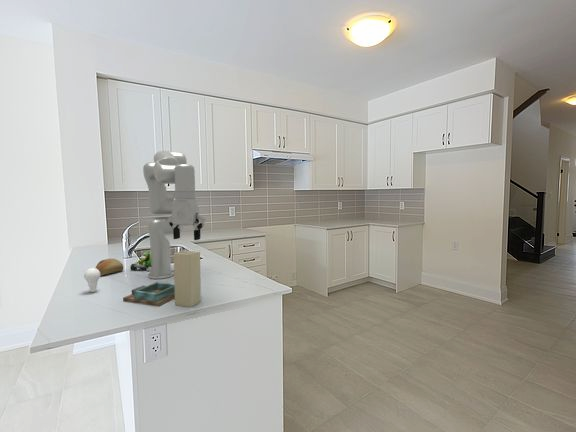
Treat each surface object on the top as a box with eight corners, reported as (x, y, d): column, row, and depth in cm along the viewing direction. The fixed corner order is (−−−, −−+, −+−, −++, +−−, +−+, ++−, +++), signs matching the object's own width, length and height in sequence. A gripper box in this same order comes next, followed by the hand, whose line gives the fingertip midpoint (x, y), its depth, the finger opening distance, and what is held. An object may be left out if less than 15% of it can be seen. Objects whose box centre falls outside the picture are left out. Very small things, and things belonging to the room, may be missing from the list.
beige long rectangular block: (202, 300, 120) (201, 250, 119) (191, 307, 114) (189, 254, 112) (186, 298, 123) (185, 249, 121) (174, 304, 116) (172, 253, 114)
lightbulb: (84, 295, 127) (82, 270, 126) (86, 291, 132) (84, 267, 131) (100, 293, 130) (99, 269, 129) (102, 289, 135) (100, 265, 134)
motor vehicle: (130, 271, 165) (129, 253, 164) (150, 263, 184) (149, 246, 183) (149, 272, 164) (148, 253, 163) (167, 263, 183) (166, 247, 182)
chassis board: (123, 301, 120) (122, 290, 120) (149, 290, 133) (148, 280, 133) (158, 306, 114) (157, 295, 114) (181, 294, 128) (181, 284, 127)
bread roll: (90, 276, 156) (89, 261, 155) (116, 269, 169) (115, 255, 169) (101, 278, 152) (100, 263, 151) (127, 271, 166) (126, 257, 165)
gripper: (160, 196, 114) (162, 239, 115) (198, 196, 108) (199, 241, 110) (173, 196, 121) (175, 236, 122) (209, 196, 115) (210, 238, 117)
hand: (186, 239), depth 116 cm, fingers open, 9 cm apart
